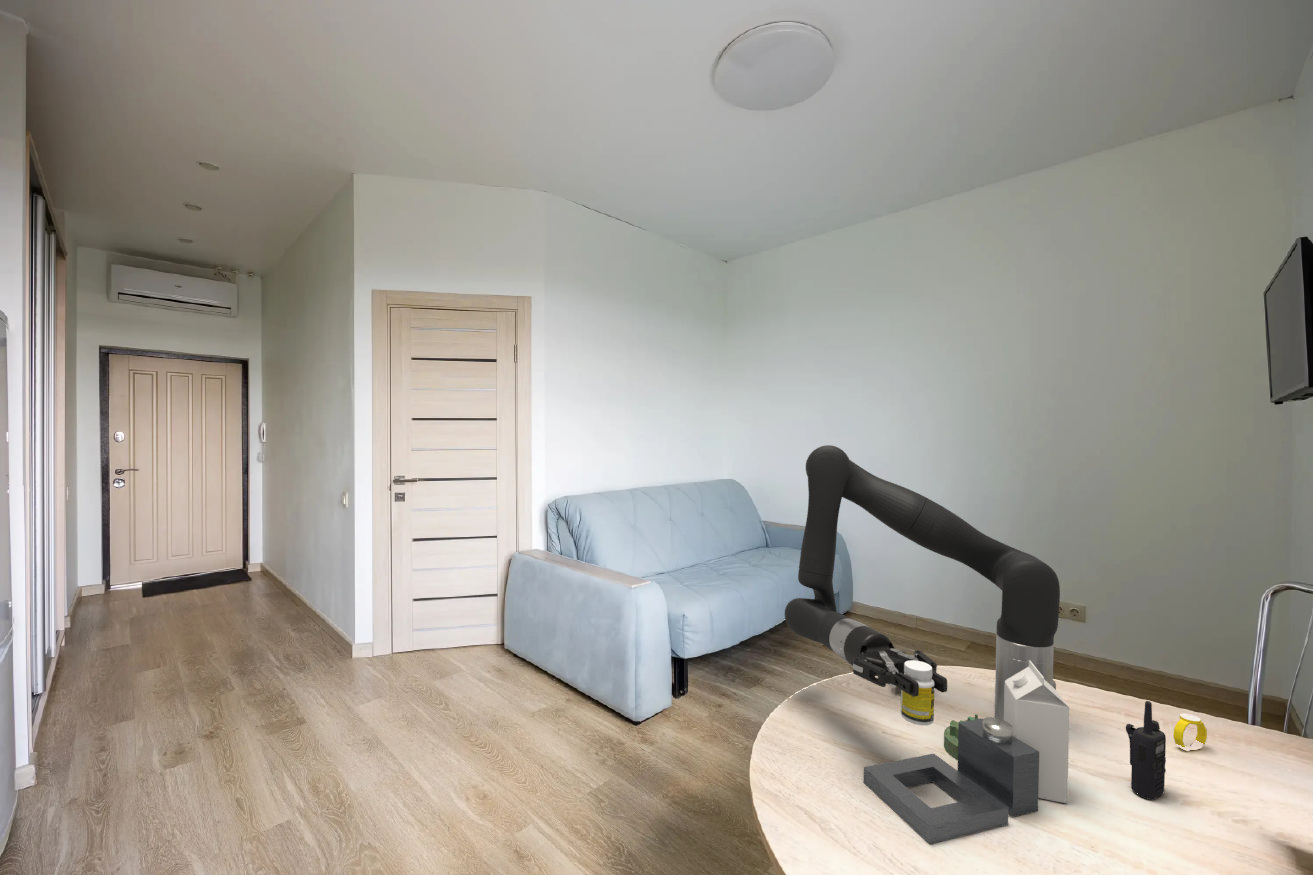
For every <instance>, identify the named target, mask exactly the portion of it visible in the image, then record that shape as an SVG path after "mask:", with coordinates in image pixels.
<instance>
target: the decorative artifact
mask: <svg viewBox="0 0 1313 875" xmlns="http://www.w3.org/2000/svg"><path fill="white" fill-rule="evenodd" d="M976 719H982V718H979V715H978V714H977V713H974V716H967V718H966V720H961V719H960V720H959V721H957V720H954V719H952V720H950V722H949V726H947V727H946V728H945V729H944V732H943V747H944V750H945V751H946V753H947V754H948V755H949V756H950V757H952V758H955V760H956V761H958V725H959V722H965V721H970V720H976Z"/></svg>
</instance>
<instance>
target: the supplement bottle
mask: <svg viewBox="0 0 1313 875" xmlns="http://www.w3.org/2000/svg"><path fill="white" fill-rule="evenodd" d="M904 674H905V675H907V676H908V677H910V678H912V679H913V680H915V681H917V682H918V685H919V695H918V696H915V697H913V696H911V695H910V694H908V693H906V692H904V691H903V690H901V695H900V715H901V717H902V718H903V719H904V720H905V721H907V723H910V724H913V725H917V726H931V725H932V724H933V723H934V721H935V685H934V681H933V679H932V675H933V674H932V667H931V666H930V665H929V664H927V663H924V662H921V661H914V660H911V661H906V662H905V663H904Z"/></svg>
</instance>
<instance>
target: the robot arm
mask: <svg viewBox="0 0 1313 875" xmlns="http://www.w3.org/2000/svg"><path fill="white" fill-rule="evenodd" d="M805 474H806V476H807V485H808V486H807V487H808V500H807V502H808V503H807V505H808V506H807V513H806V514H807V515H806V522H805V527H804V531H803V538H802V543H801V549H800V555H799V556H800V557H799V564H798V574H797V580H798V582H799V584H801V586H803V587H804V588H805V587H806V588H808V589H812V591H813V594H814V595H813V596H814V598H806V597H805V598H803V597H798V598H793V599H791V600H790V601H789V602H788V603H786V604H787V605H786V606H785V609H784V619H785V622H786V625H787V626H788V628H789V629H790V631H792V632H793V633H794V634H796V635H797V636H798V635H799V636H801V637H803V638H805V639H808V640H810V641H813V642H817V643H819V644H821V645H824V646H825V647H826V648H828V649H829V650H830V651H833V652H834V653H835V654H836V655H838V657H840V659H842V660H843V661H845V662H846V663H848V664H849V665H851V666H852V673H853V675H856V676H857V677H860V678H862V679H864V680H866V681H868V682H870V683H873V684H874V685H877V686H879V687H881V688H883V687H884V688H885V687H886V686H887V685H889V686H890V687H893V688H895V687H898V688H900V689H901V690H903V691H904V692H906V693H908V694H910V695H911V696H913V697H915V696H918V695H919V685H918V682H917V681H915V680H913V679H912V678H910V677H908V676H907V675H905V674H904V663H905V662H906V661H911V660H914V661H921V662H924V663H927V664H929V665H930V666H931V667H932V674H933V675H932V679H933V681H934V685H935V688H934V690H937V691H938V692H941V693H947V692H948V679H947V678H946V677H944V676H943V675H942V674H940V673H938V672H937V667H938V664H937V663H936V662H935V661H934V660H933V659H932V658H930V657H929V656H928V655H926V654H925V653H924V652H922V651H921V650H919V649H918V650H914V651H913V652H914V653H913V654H907V653H906V652H904V651H902V650H900V649H897V648H895V646H894V644H893V642H892V641H891V639H889V637H888V636H887V635H885V634H884V633H881V632H879V631H877V630H875V629H874V628H872V627H870V626H868V625H866V624H864V623H862V622H860V621H857V620H854V619H852V618H851V617H848V615H844V613H843V614H842V613H840V612H837V603H836V599H835V591H834V582H833V578H834V571H835V569H834V568H835V564H836V563H835V561H836V551H837V534H838V533H837V532H838V523H839V514H840V508H841V503H842V499H845V500H847V501H850V502H852V503H854V504H855V505H857V506H858V507H860V508H862V509H863V510H865V511H866V513H868V514H870V515H871V516H873V517H874V518H876V519H877V520H878V521H880V522H881V523H882V524H884V525H885V526H887V527H888V528H890V529H891V530H893V531H894V532H896V533H897V534H899V535H900V536H903V537H904V538H906V539H908V540H910V541H911V542H912V543H914V544H916V545H918V546H921V547H923V548H924V549H926V550H929V551H930V552H934V553H936V554H938V555H941V556H943V557H946V558H949V559H951V560H954V561H957V562H959V563H961V564H963V565H965V566H967V567H969V568H970V569H972V570H973V571H974V572H976V573H979V574H980V575H981V576H982V577H984V578H986V580H989V581H990V582H991V583H992V584H994V585H995V586H996V587H997V588H999V590H1001V592H1002V593H1001V613H1000V617H999V618H998V619H997V621H996V630H995V632H996V633H995V634H996V638H995V640H996V642H995V643H996V644H995V684H994V686H995V687H994V718H998V719H1001V720H1004V690H1005V680H1007V679H1008V678H1010V677H1012V676H1014V675H1015V674H1017V673H1019V672H1020V671H1022V670H1024V669H1025V668H1027V667H1029V660H1030V661H1031V662H1032V663H1033V665H1034V666H1035V667H1036V668H1037V670H1038V671H1039V672H1040V673H1041V675H1042V676H1043V677H1044V680H1045V681H1047V682H1048V683H1049V684H1050V685H1051V686H1052V687H1053V688H1054V689H1055V690H1056V691H1057V683H1056V681H1055V680H1054V646H1055V645H1054V643H1055V642H1054V641H1055V640H1054V639H1055V634H1056V633H1057V631H1058V627H1059V618H1060V616H1059V615H1060V600H1061V588H1060V586H1061V585H1060V581H1059V578H1058V575H1057V573H1056V572H1055V570H1054V569H1053V568H1052V567H1051V566H1050V565H1048V564H1047V563H1045V562H1044V561H1042V560H1041V559H1039V558H1038V557H1036V556H1034V555H1032V554H1030V553H1027V552H1025V551H1022V550H1020V549H1017V548H1014V547H1012V546H1010V545H1008V544H1006V543H1003V542H1001V541H999V540H997V539H994V538H992V537H991V536H988V535H986V534H985V533H983V532H981V531H980V530H978V529H977V528H975V527H974V526H972V525H971V524H970V523H968V522H967V521H966V520H964V518H962V517H960V516H958V515H957V514H956V513H955V512H952V511H950V510H949V509H947V508H946V507H944V506H943V505H941V504H939V503H937V502H936V501H933V500H932V499H930V498H929V497H926V496H924V495H922V494H921V493H918V492H915V491H914V490H911V489H909V488H906V487H904V486H902V485H899V484H897V483H894V482H892V481H888V480H886V479H884V478H880V477H878V476H876V475H874V474H872V473H870V472H869V471H867V470H866V469H864V468H863V467H861V466H860V465H858V464H856V462H854V461H853V460H851V459H850V457H849V456H848V454H847V453H846V452H845V451H844V450H843V449H841V448H840V447H837V446H835V445H828V444H827V445H826V444H825V445H822V446H819V447H817V448H815V449H814V450H813V451H811V453H809V455H808V456H807V459H806V461H805Z"/></svg>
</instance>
